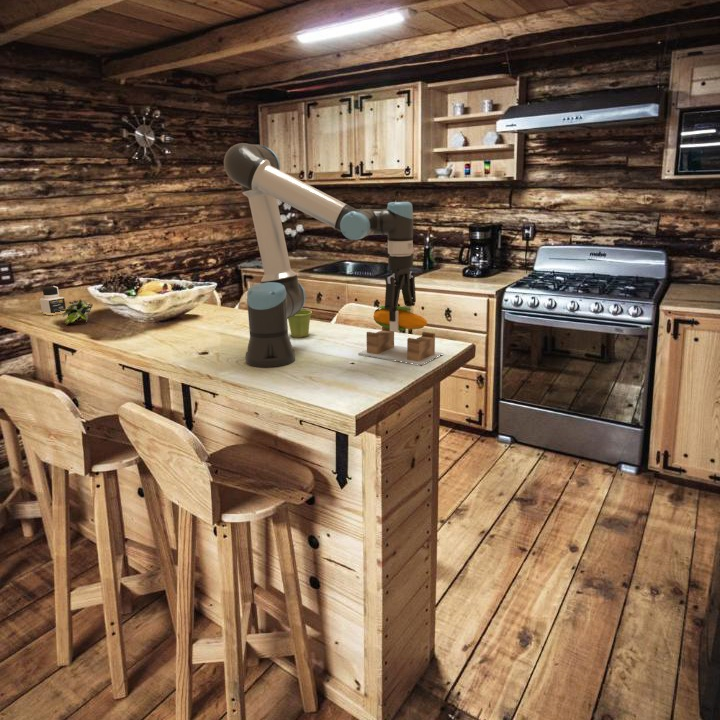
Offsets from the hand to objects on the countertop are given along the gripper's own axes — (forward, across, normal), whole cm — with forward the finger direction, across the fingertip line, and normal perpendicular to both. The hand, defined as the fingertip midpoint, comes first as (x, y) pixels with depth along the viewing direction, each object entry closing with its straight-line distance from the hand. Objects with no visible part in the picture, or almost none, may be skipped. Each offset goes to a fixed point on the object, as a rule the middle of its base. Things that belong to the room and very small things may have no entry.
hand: (400, 328), depth 189 cm
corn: (0, 0, 0) cm, 0 cm away
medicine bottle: (+8, -24, +162) cm, 164 cm away
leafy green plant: (+8, -28, +135) cm, 138 cm away
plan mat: (+9, 0, 0) cm, 9 cm away
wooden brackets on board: (+9, 0, 0) cm, 9 cm away
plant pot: (+9, +2, +44) cm, 45 cm away
